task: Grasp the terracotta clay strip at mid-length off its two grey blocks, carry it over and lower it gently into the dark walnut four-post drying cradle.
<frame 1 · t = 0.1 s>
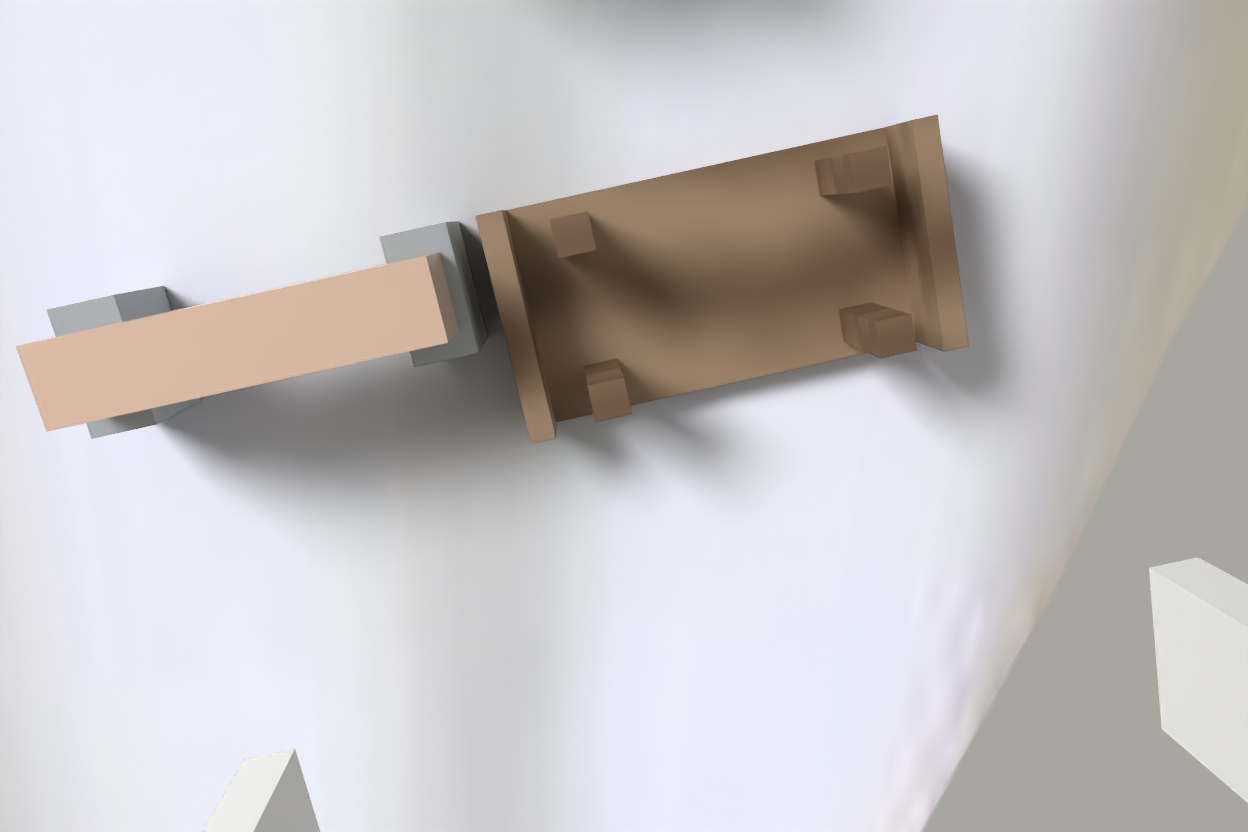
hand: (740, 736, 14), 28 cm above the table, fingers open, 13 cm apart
clay strip: (266, 331, 36), point 4 cm above the table, touching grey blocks
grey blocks: (299, 318, 40), on the table
rack: (712, 276, 41), on the table
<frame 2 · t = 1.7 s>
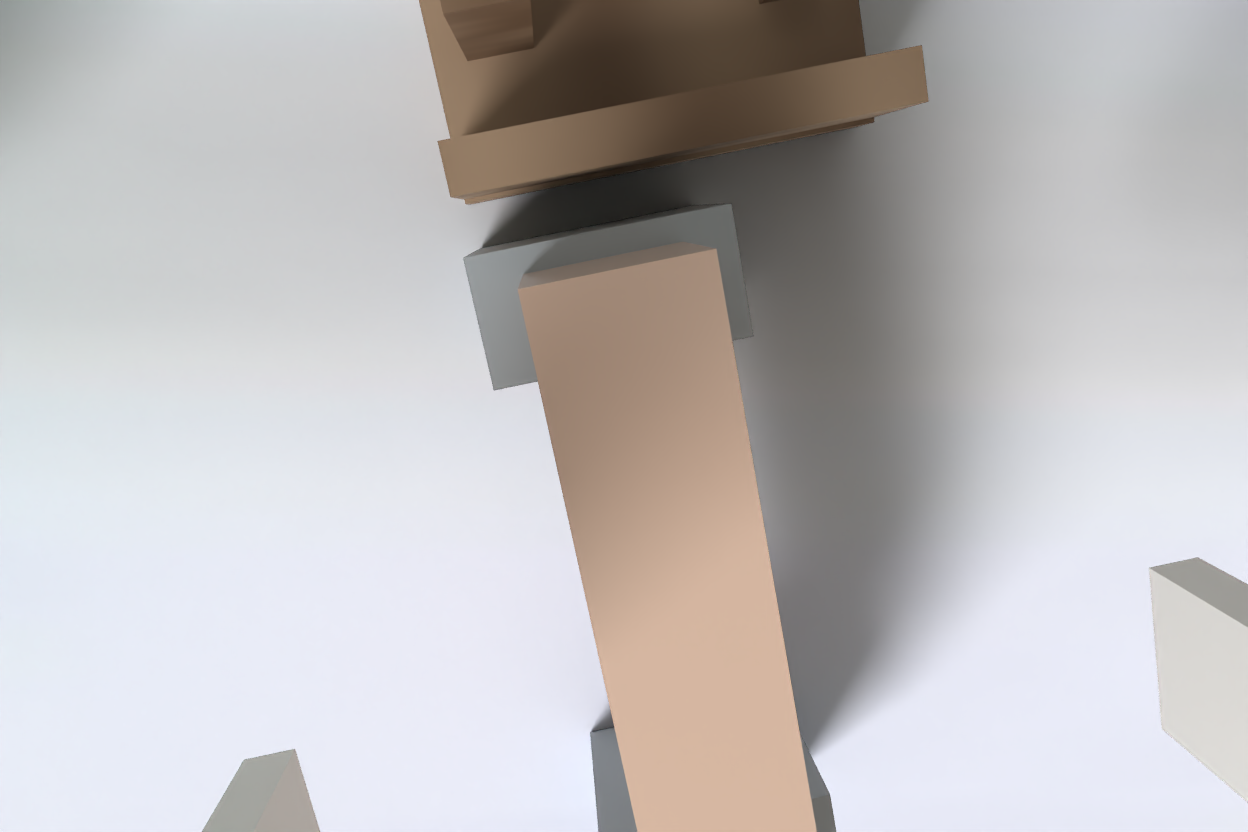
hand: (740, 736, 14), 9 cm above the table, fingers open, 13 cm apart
clay strip: (672, 605, 19), point 4 cm above the table, touching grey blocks
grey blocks: (648, 531, 23), on the table
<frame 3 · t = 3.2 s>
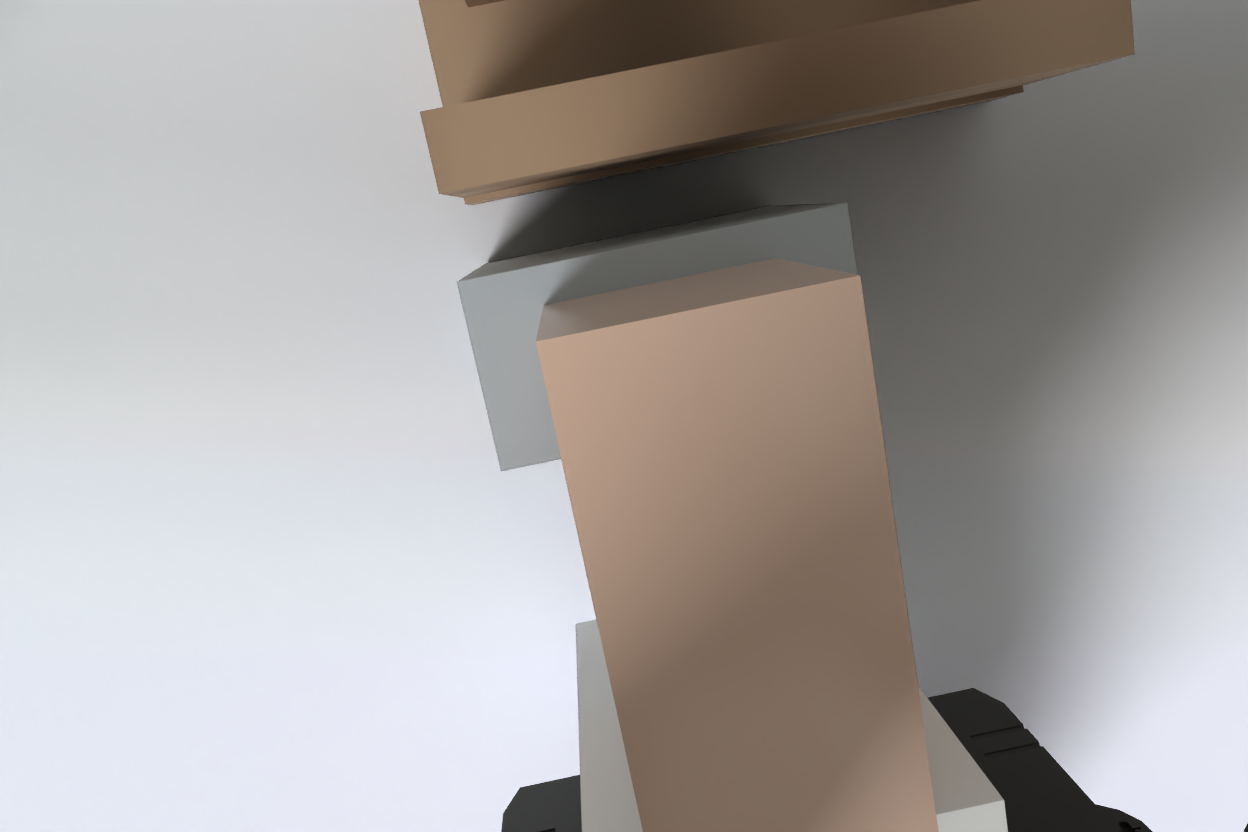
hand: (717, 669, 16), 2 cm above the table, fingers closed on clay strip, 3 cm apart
clay strip: (750, 767, 13), point 4 cm above the table, touching gripper, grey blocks
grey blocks: (705, 631, 18), on the table
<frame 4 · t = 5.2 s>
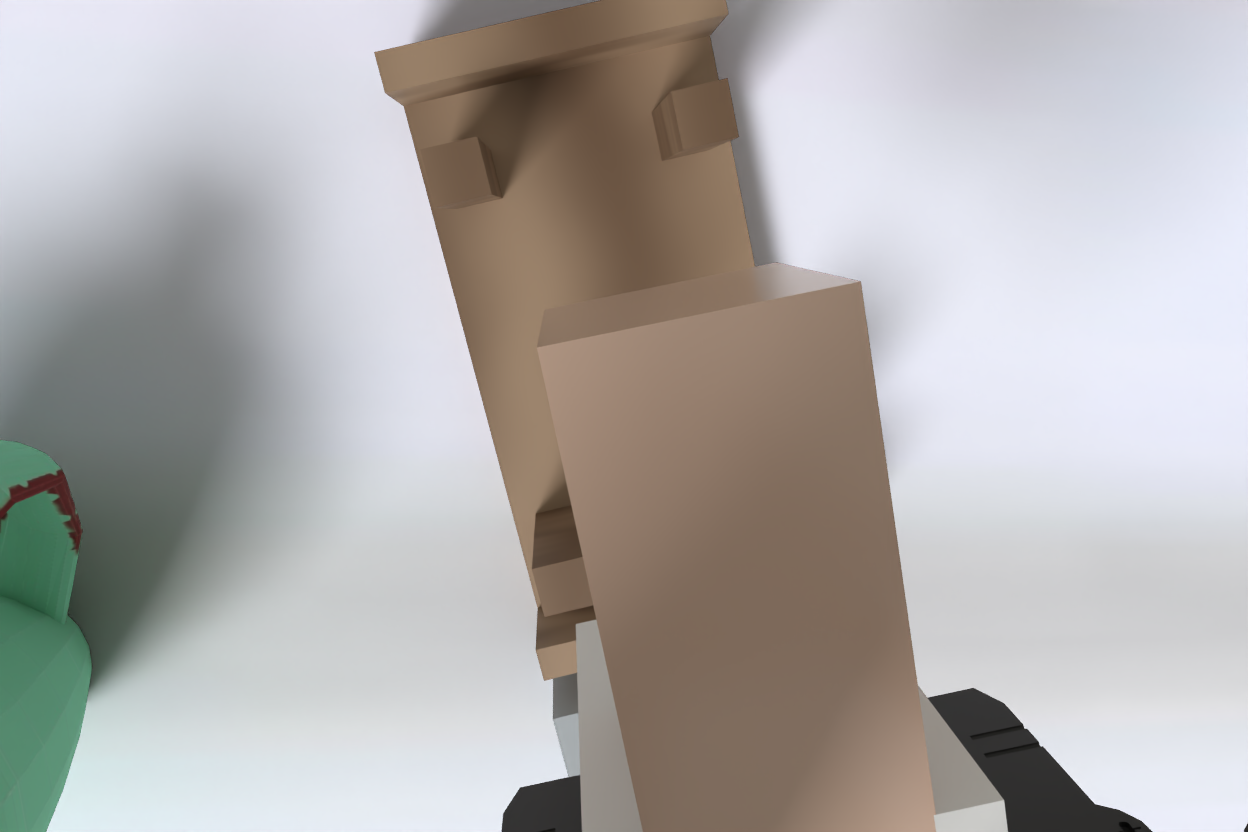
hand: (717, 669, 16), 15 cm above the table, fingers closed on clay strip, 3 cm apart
clay strip: (751, 770, 14), point 18 cm above the table, touching gripper
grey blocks: (672, 822, 34), on the table
mug: (43, 594, 31), on the table
rack: (616, 333, 30), on the table
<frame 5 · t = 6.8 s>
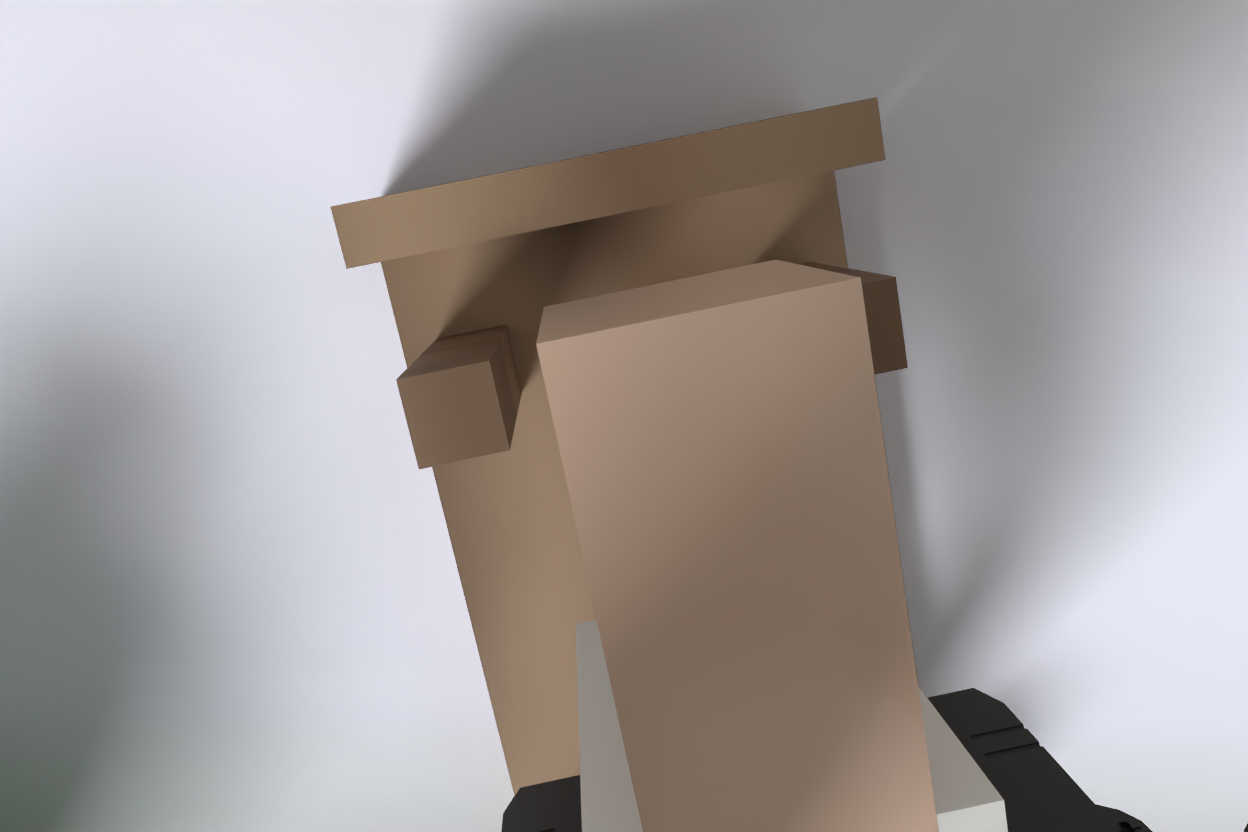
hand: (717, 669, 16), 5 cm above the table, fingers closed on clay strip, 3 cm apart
clay strip: (751, 768, 13), point 8 cm above the table, touching gripper
rack: (674, 566, 21), on the table
when the fingers open (2 cm above the table, at t = 7.6 s): clay strip drops 3 cm, resting on rack.
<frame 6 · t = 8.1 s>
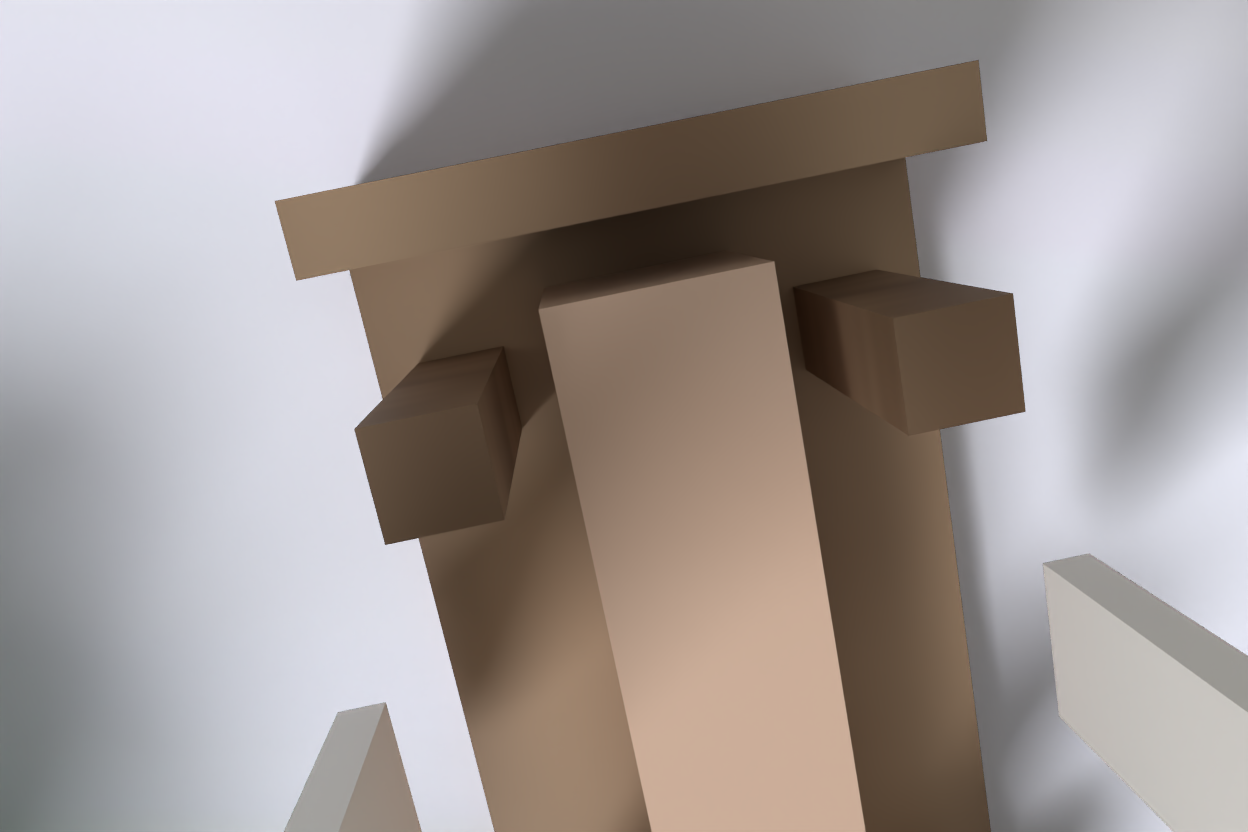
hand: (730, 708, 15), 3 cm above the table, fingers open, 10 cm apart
clay strip: (711, 662, 17), point 1 cm above the table, touching rack
rack: (704, 631, 18), on the table
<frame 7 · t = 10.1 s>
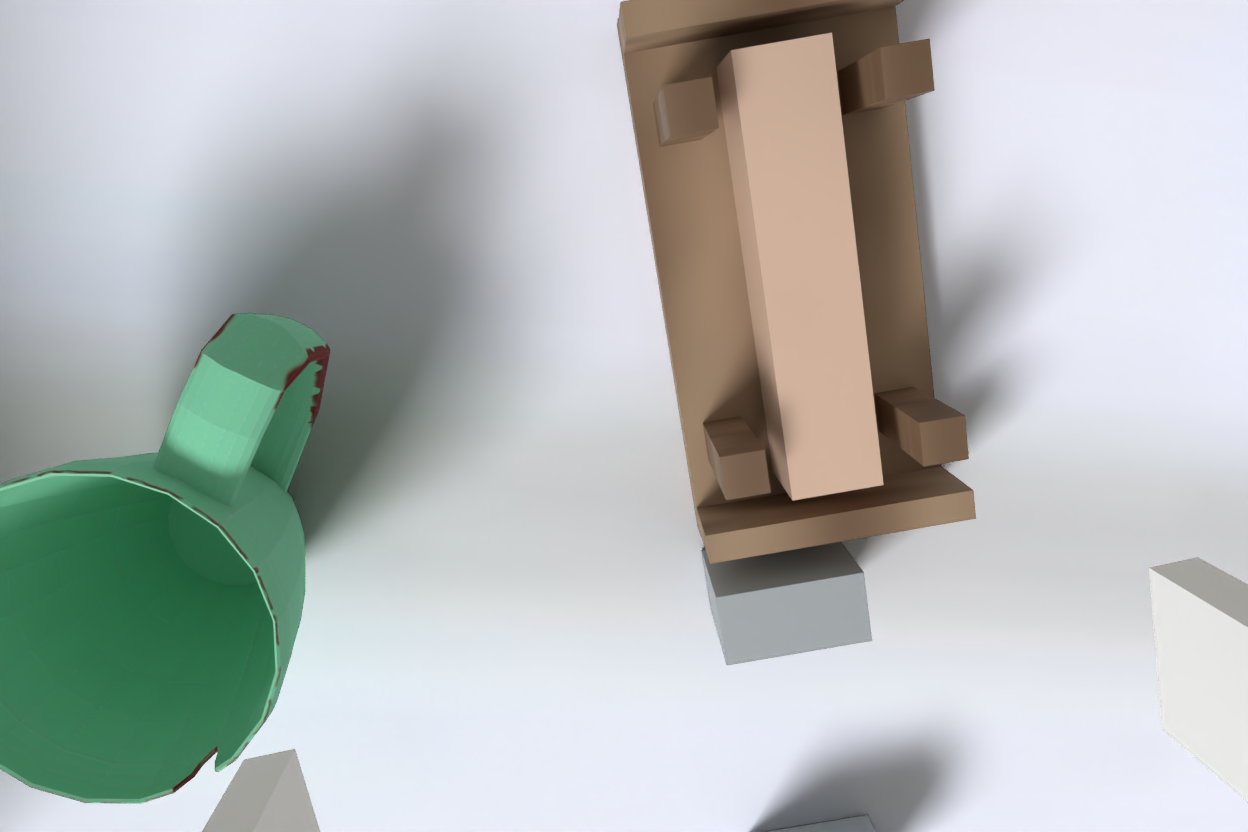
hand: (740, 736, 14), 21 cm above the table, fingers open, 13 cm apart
clay strip: (788, 271, 33), point 1 cm above the table, touching rack
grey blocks: (791, 715, 38), on the table
mug: (263, 467, 35), on the table
rack: (783, 268, 34), on the table
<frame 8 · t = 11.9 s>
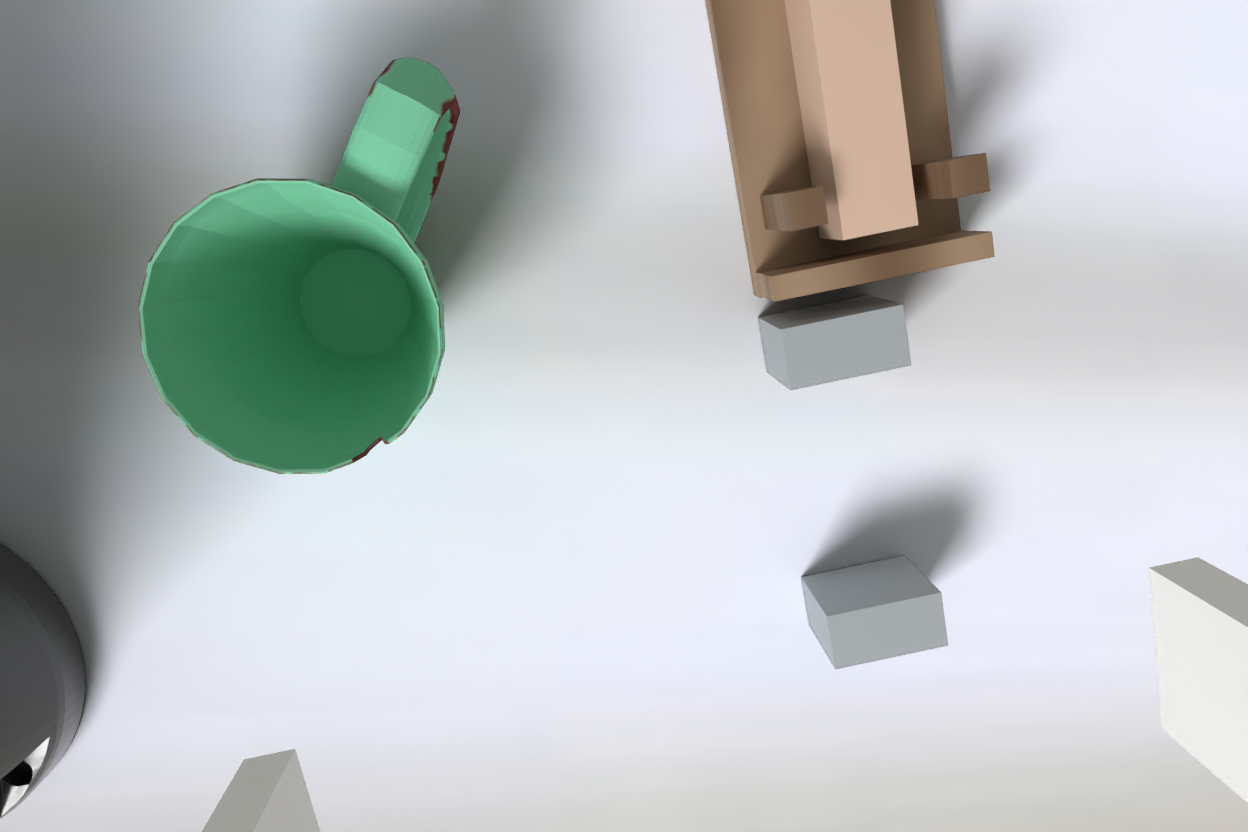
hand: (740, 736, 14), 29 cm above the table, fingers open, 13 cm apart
clay strip: (830, 60, 39), point 1 cm above the table, touching rack
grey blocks: (837, 466, 44), on the table
mug: (381, 252, 41), on the table
rack: (823, 63, 40), on the table
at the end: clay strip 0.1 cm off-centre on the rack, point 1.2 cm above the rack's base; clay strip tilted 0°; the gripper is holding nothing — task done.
